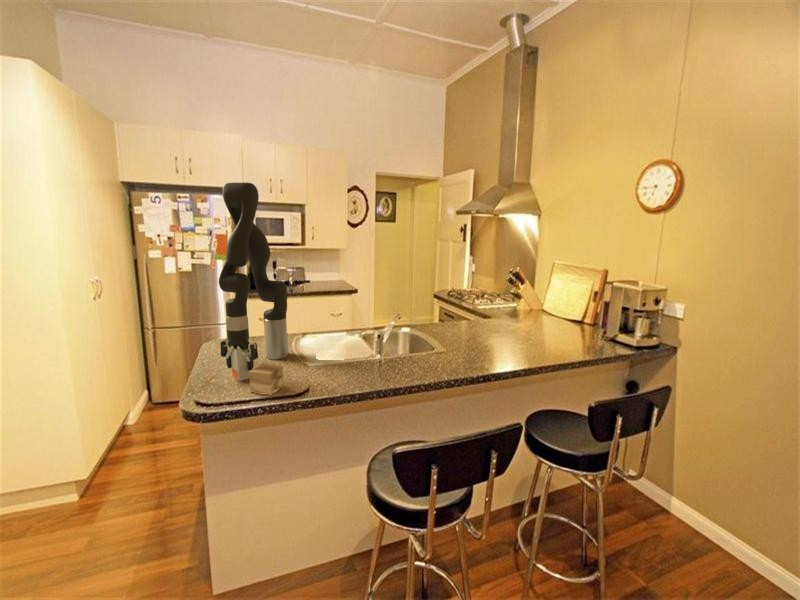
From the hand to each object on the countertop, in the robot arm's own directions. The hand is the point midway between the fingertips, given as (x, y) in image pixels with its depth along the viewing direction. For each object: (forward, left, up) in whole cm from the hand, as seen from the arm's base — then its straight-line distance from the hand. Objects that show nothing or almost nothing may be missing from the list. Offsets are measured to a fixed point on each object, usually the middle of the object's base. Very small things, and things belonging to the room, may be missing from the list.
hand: (240, 368), depth 149 cm
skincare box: (0, 0, -4) cm, 4 cm away
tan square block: (+6, +15, 0) cm, 16 cm away
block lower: (+6, +15, -4) cm, 17 cm away
